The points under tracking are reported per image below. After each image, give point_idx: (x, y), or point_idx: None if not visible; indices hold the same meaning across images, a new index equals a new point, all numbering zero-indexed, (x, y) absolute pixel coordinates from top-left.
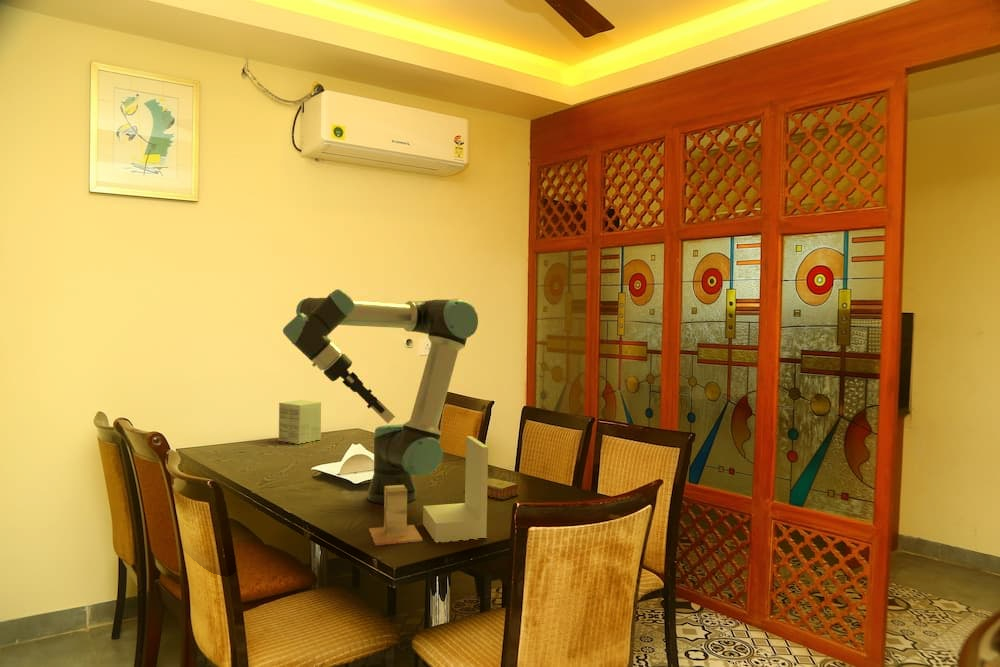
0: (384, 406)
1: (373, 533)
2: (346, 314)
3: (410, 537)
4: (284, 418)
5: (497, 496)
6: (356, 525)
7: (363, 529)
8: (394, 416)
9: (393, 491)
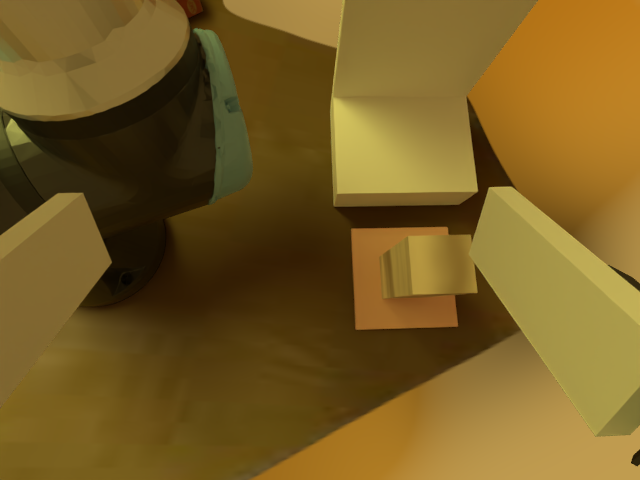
0: (600, 264)
1: (394, 323)
2: None
3: None
4: None
5: (189, 11)
6: (310, 355)
7: (343, 341)
8: (513, 192)
9: (474, 275)
